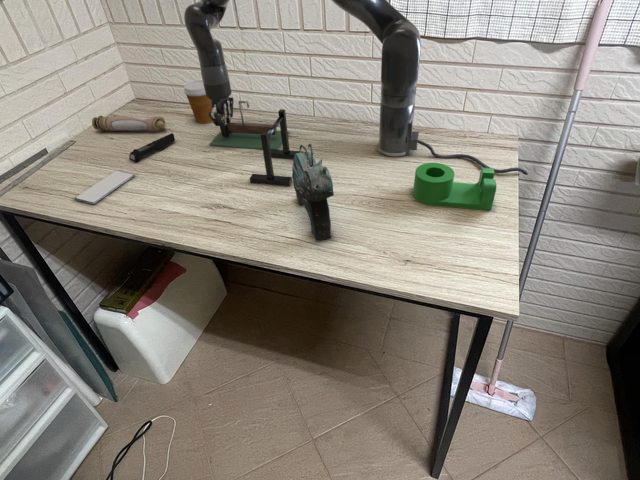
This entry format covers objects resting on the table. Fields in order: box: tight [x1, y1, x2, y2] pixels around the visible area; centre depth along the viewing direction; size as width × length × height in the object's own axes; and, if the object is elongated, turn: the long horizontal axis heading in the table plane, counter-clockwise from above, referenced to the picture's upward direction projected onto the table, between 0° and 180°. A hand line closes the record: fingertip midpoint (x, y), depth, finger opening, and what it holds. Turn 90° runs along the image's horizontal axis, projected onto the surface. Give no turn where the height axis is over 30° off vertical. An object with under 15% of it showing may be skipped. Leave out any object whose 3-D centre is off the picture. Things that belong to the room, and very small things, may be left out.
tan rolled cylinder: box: [91, 115, 166, 132], centre depth 141 cm, size 6×25×5 cm, turn 82°
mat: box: [208, 130, 290, 151], centre depth 133 cm, size 22×12×1 cm, turn 76°
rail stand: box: [249, 108, 305, 188], centre depth 114 cm, size 16×11×14 cm
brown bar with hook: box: [219, 100, 278, 135], centre depth 129 cm, size 18×2×10 cm, turn 76°
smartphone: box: [74, 170, 135, 205], centre depth 115 cm, size 7×1×15 cm
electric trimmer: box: [128, 132, 176, 163], centre depth 130 cm, size 4×16×3 cm, turn 143°
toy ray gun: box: [291, 143, 335, 242], centre depth 93 cm, size 20×6×20 cm, turn 17°
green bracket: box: [412, 162, 497, 211], centre depth 102 cm, size 18×9×6 cm, turn 78°
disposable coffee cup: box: [183, 79, 213, 124], centre depth 143 cm, size 10×10×12 cm
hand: (227, 134), depth 134 cm, fingers closed on brown bar with hook, 1 cm apart
